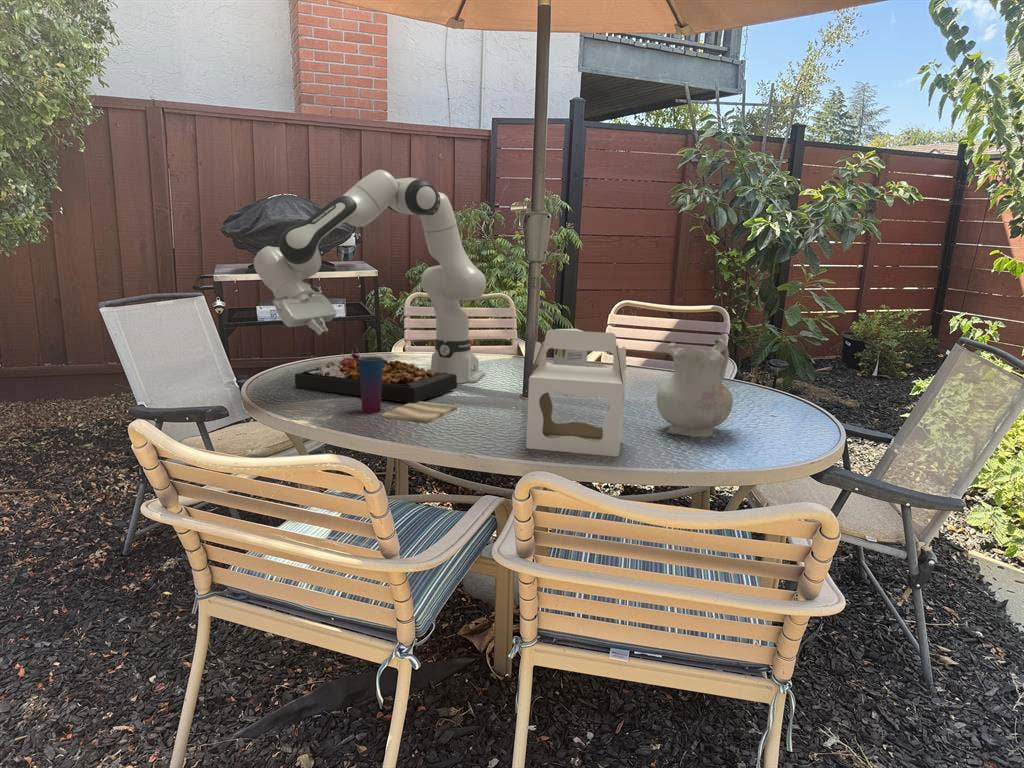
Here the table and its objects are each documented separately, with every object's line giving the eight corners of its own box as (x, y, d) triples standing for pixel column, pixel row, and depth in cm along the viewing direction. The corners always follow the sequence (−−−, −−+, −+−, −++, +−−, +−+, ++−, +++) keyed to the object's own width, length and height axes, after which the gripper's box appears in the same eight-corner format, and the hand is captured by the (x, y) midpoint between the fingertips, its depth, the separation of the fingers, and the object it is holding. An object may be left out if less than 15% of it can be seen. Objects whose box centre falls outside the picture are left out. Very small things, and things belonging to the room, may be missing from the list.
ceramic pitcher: (680, 421, 200) (681, 335, 196) (747, 429, 187) (749, 337, 183) (643, 436, 183) (643, 342, 179) (714, 446, 171) (715, 345, 167)
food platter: (295, 387, 222) (293, 355, 220) (344, 375, 243) (343, 346, 241) (414, 403, 203) (414, 368, 201) (456, 388, 225) (456, 356, 223)
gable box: (622, 441, 174) (629, 330, 168) (619, 457, 161) (627, 337, 155) (534, 434, 178) (539, 325, 172) (525, 448, 165) (529, 331, 160)
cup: (387, 409, 198) (387, 357, 195) (376, 414, 191) (376, 361, 188) (365, 407, 200) (365, 355, 197) (354, 412, 193) (353, 359, 190)
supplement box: (552, 373, 259) (554, 328, 256) (573, 372, 263) (576, 328, 259) (564, 378, 251) (567, 332, 247) (586, 377, 254) (589, 331, 251)
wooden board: (414, 403, 206) (414, 400, 206) (457, 408, 201) (457, 406, 201) (382, 416, 190) (382, 413, 190) (427, 423, 185) (427, 420, 185)
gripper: (276, 290, 187) (307, 329, 186) (322, 287, 206) (351, 322, 205) (263, 306, 190) (293, 344, 188) (310, 301, 209) (338, 336, 207)
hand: (323, 333), depth 197 cm, fingers closed
